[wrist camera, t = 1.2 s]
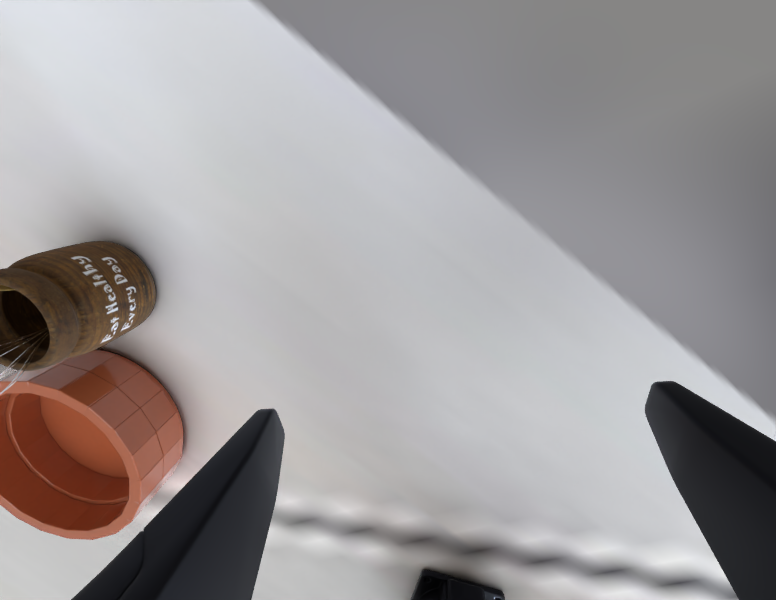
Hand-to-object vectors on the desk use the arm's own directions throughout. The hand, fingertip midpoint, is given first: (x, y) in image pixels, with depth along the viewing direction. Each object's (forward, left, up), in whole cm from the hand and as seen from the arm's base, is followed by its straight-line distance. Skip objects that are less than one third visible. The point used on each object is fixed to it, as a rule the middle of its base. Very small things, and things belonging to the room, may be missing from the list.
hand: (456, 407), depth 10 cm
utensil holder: (-7, +20, -14) cm, 26 cm away
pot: (-17, +21, -14) cm, 30 cm away
